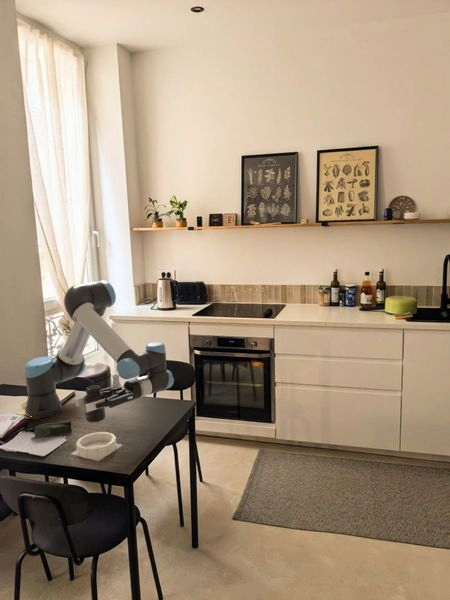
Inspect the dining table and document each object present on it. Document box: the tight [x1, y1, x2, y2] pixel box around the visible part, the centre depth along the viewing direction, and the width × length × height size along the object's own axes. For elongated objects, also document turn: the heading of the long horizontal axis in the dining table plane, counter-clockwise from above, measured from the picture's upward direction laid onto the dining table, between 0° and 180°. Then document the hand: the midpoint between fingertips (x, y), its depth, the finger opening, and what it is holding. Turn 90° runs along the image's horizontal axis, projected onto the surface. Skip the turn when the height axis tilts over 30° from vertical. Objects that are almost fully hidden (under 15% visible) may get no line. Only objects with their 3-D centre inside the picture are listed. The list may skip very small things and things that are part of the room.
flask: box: [111, 374, 122, 395], centre depth 224 cm, size 7×7×10 cm
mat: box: [70, 442, 123, 462], centre depth 170 cm, size 13×13×1 cm
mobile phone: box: [30, 420, 72, 440], centre depth 184 cm, size 5×3×15 cm
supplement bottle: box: [83, 384, 106, 423], centre depth 168 cm, size 7×7×12 cm
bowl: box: [75, 431, 117, 460], centre depth 170 cm, size 13×13×4 cm
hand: (81, 405), depth 165 cm, fingers closed on supplement bottle, 7 cm apart
